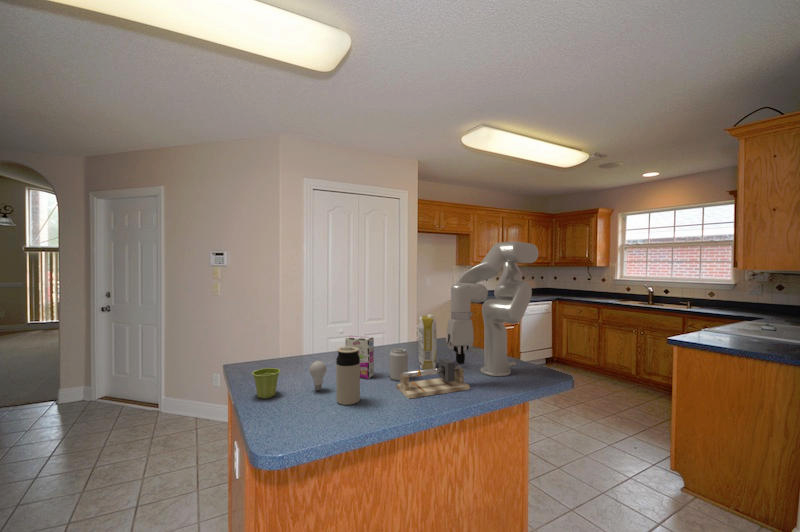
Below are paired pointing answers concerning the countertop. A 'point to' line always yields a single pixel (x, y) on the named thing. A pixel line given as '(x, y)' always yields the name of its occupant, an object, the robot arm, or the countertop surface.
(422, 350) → the juice carton
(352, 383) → the travel mug
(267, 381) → the plant pot
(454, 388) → the pipe stand
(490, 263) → the robot arm
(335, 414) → the countertop surface
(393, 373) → the can
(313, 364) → the lightbulb
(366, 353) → the candy bar box
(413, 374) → the pipe
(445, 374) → the collar
